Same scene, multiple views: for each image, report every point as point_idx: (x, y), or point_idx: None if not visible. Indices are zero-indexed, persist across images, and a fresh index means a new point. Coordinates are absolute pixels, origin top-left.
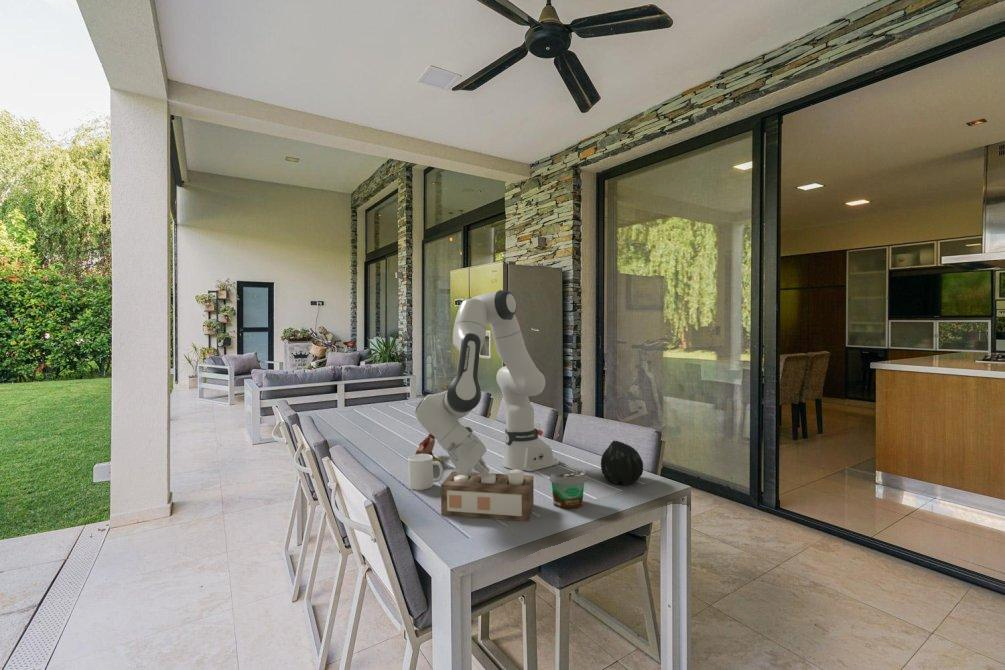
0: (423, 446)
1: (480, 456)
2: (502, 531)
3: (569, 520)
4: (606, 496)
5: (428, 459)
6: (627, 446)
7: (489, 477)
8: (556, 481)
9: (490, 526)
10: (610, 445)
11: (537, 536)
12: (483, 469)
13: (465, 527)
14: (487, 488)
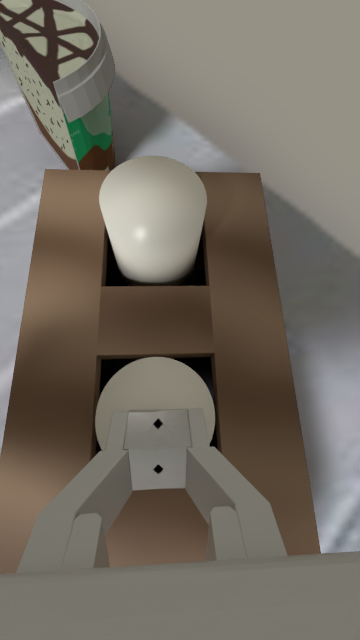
0: None
1: (88, 593)
2: (322, 324)
3: (192, 157)
4: (6, 75)
5: None
6: None
7: (194, 395)
8: (99, 90)
9: (302, 371)
10: None
11: (315, 225)
12: (214, 454)
13: (342, 467)
14: (291, 386)
